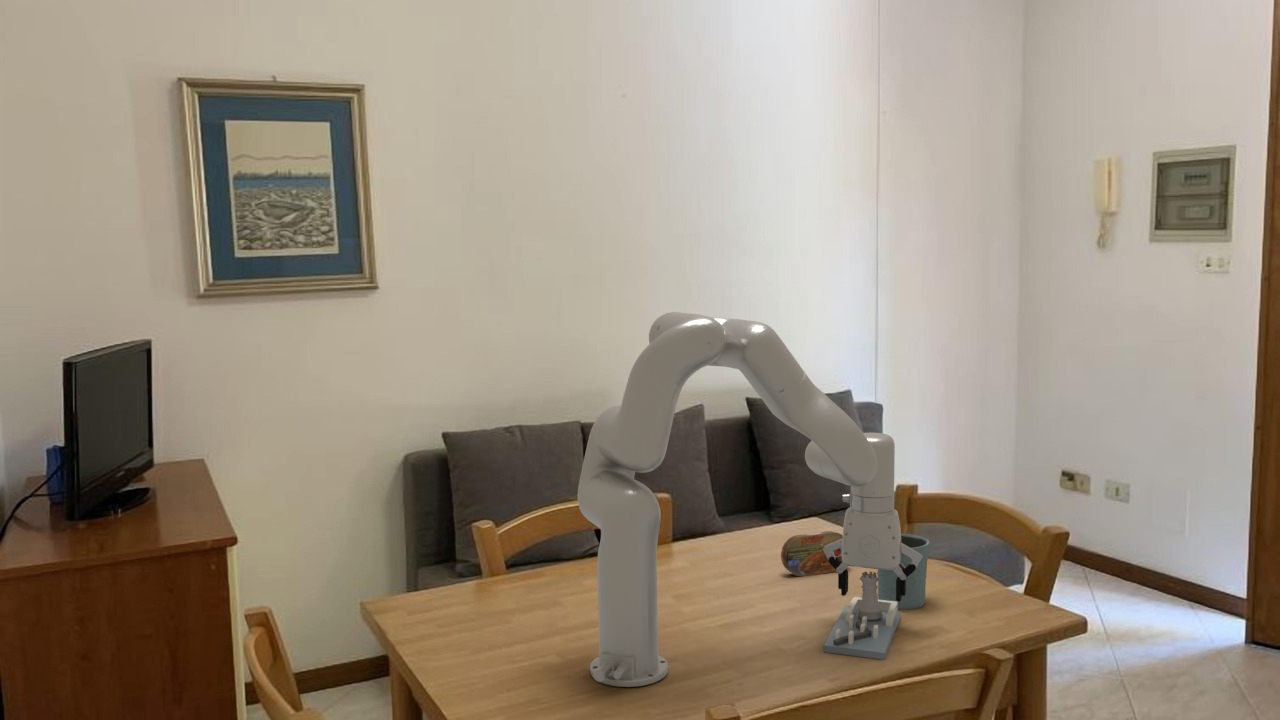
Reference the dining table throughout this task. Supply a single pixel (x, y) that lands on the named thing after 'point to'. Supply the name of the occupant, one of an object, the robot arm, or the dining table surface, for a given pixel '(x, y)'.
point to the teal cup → (913, 581)
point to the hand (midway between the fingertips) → (871, 596)
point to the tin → (809, 553)
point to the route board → (863, 631)
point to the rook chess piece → (869, 598)
